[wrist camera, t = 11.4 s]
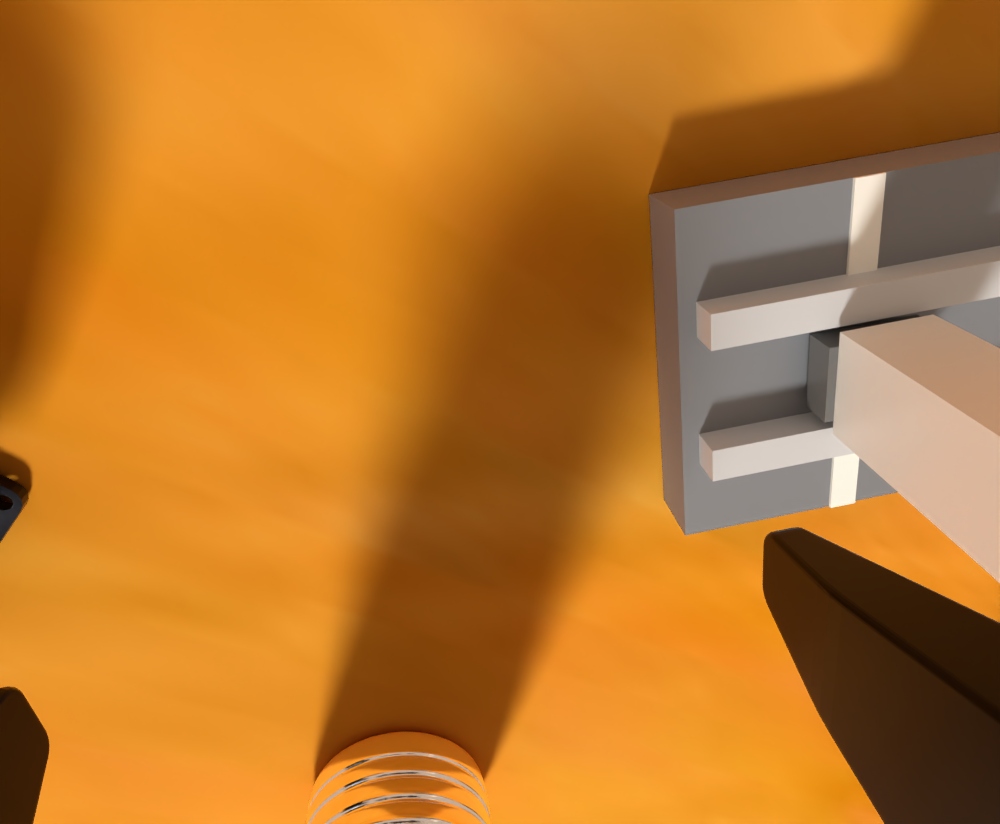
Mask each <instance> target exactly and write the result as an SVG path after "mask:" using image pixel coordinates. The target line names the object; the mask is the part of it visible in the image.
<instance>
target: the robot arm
mask: <svg viewBox="0 0 1000 824" xmlns="http://www.w3.org/2000/svg"><path fill="white" fill-rule="evenodd" d="M0 495H4V496H7V497H9V498H10V499H11V500H12V503H9V502H6V501H4V500H3V499H1V497H0V543H1V541H2V540H3V538H4V537H5V535H6V534H7V532H8V531H9V529H10V528H11V526H12V525H13V523H14V522H15V520H16V519H17V517H18V516H19V514H20V513H21V511H22V510H23V508H24V507H25V505H26V504H27V501H28V499H29V498H28V493H27V491H26V490H25V488H24V487H23V486H21V485H20V484H18V483H17V482H15V481H13V480H11V479H9V478H7V477H4V476H2V475H0ZM763 592H764V596H765V599H766V603H767V605H768V607H769V609H770V611H771V614H772V616H773V618H774V620H775V622H776V624H777V626H778V629H779V631H780V633H781V635H782V637H783V639H784V642H785V644H786V646H787V648H788V650H789V652H790V654H791V657H792V659H793V661H794V663H795V665H796V667H797V669H798V672H799V674H800V676H801V678H802V680H803V682H804V684H805V687H806V689H807V691H808V693H809V695H810V697H811V699H812V701H813V703H814V705H815V707H816V709H817V711H818V713H819V715H820V717H821V719H822V721H823V722H824V724H825V726H826V728H827V729H828V731H829V733H830V734H831V736H832V738H833V739H834V741H835V743H836V744H837V746H838V748H839V749H840V751H841V753H842V754H843V756H844V758H845V759H846V761H847V763H848V764H849V766H850V767H851V769H852V771H853V772H854V774H855V776H856V777H857V779H858V781H859V782H860V784H861V786H862V787H863V789H864V791H865V792H866V794H867V796H868V797H869V799H870V801H871V802H872V804H873V805H874V807H875V809H876V810H877V812H878V814H879V815H880V817H881V819H882V820H883V822H884V824H1000V623H999V622H997V621H995V620H993V619H990V618H988V617H986V616H984V615H982V614H980V613H978V612H976V611H974V610H972V609H970V608H968V607H965V606H963V605H961V604H959V603H957V602H955V601H953V600H951V599H949V598H947V597H945V596H943V595H940V594H938V593H936V592H934V591H932V590H930V589H928V588H926V587H924V586H922V585H920V584H918V583H915V582H913V581H911V580H909V579H907V578H905V577H903V576H901V575H899V574H897V573H895V572H893V571H890V570H888V569H886V568H884V567H882V566H880V565H878V564H876V563H874V562H872V561H870V560H868V559H865V558H863V557H861V556H859V555H857V554H855V553H853V552H851V551H849V550H847V549H845V548H843V547H840V546H838V545H836V544H834V543H832V542H830V541H828V540H826V539H824V538H822V537H820V536H818V535H815V534H813V533H811V532H809V531H807V530H805V529H802V528H798V527H796V528H789V529H784V530H779V531H774V532H771V533H769V534H768V535H767V536H766V537H765V540H764V552H763ZM48 755H49V739H48V736H47V733H46V730H45V729H44V727H43V725H42V724H41V722H40V721H39V719H38V717H37V716H36V714H35V712H34V711H33V709H32V708H31V706H30V704H29V703H28V701H27V699H26V698H25V696H24V695H23V693H22V692H21V691H20V690H18V689H17V688H15V687H3V688H0V824H33V821H34V817H35V813H36V808H37V804H38V799H39V795H40V790H41V786H42V782H43V777H44V773H45V768H46V764H47V760H48Z"/></svg>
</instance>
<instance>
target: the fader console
mask: <svg viewBox="0 0 1000 824" xmlns="http://www.w3.org/2000/svg"><path fill="white" fill-rule="evenodd" d="M649 204H650V224H651V245H652V265H653V285H654V306H655V326H656V347H657V367H658V388H659V408H660V428H661V449H662V469H663V490H664V500H665V502H666V504H667V505H668V507H669V509H670V510H671V512H672V514H673V515H674V517H675V519H676V521H677V522H678V524H679V526H680V527H681V529H682V531H683V532H684V534H685V535H689V534H694V533H699V532H704V531H709V530H714V529H719V528H724V527H729V526H734V525H739V524H744V523H748V522H753V521H758V520H763V519H768V518H773V517H778V516H783V515H788V514H793V513H798V512H803V511H808V510H813V509H817V508H822V507H827V506H829V507H830V508H833V507H838V506H843V505H848V504H853V503H855V501H857V500H862V499H867V498H872V497H877V496H882V495H886V494H891V493H896V492H897V491H896V490H895V489H894V488H893V487H892V486H890V485H889V484H888V483H887V482H886V481H885V480H884V479H883V478H882V477H880V476H879V475H878V474H877V473H876V472H875V471H874V470H873V469H871V468H870V467H869V466H868V465H867V464H866V463H865V462H864V461H862V460H861V459H860V458H859V457H858V456H857V455H856V454H855V453H854V452H852V451H851V450H850V449H849V448H848V447H847V446H846V445H845V444H843V443H842V442H841V441H840V440H839V439H838V438H837V437H836V436H834V435H833V421H831V422H826V423H824V422H823V421H822V420H821V419H820V418H819V417H818V416H816V415H815V414H814V413H813V412H812V411H811V410H810V409H809V408H807V407H806V402H807V384H808V365H809V347H810V334H815V333H821V332H826V331H831V330H837V329H842V328H847V327H852V326H858V325H863V324H868V323H873V322H879V321H884V320H889V319H895V318H900V317H905V316H910V315H916V314H917V315H918V316H920V317H922V316H928V315H935V316H937V317H939V318H941V319H943V320H945V321H947V322H949V323H951V324H953V325H955V326H957V327H959V328H961V329H963V330H965V331H967V332H969V333H971V334H973V335H975V336H977V337H978V338H980V339H982V340H984V341H986V342H988V343H990V344H992V345H994V346H996V347H998V348H1000V132H999V133H993V134H987V135H982V136H976V137H970V138H965V139H959V140H953V141H948V142H942V143H936V144H931V145H925V146H919V147H914V148H908V149H902V150H897V151H891V152H885V153H880V154H874V155H868V156H863V157H857V158H851V159H846V160H840V161H834V162H829V163H823V164H817V165H812V166H806V167H800V168H795V169H789V170H783V171H778V172H772V173H766V174H761V175H755V176H749V177H744V178H738V179H732V180H727V181H721V182H715V183H710V184H704V185H698V186H693V187H687V188H681V189H676V190H670V191H664V192H659V193H653V194H649Z"/></svg>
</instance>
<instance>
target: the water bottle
mask: <svg viewBox="0 0 1000 824" xmlns="http://www.w3.org/2000/svg"><path fill="white" fill-rule="evenodd" d="M305 824H492V823H491V811H490V806H489V802H488V797H487V791H486V787H485V783H484V780H483V777H482V774H481V772H480V770H479V767H478V766H477V764H476V762H475V761H474V760H473V758H472V757H471V756H470V755H469V754H468V753H467V752H466V751H465V750H464V749H463V748H461V747H460V746H458V745H457V744H455V743H453V742H451V741H449V740H447V739H445V738H442V737H439V736H436V735H432V734H428V733H421V732H392V733H385V734H380V735H376V736H373V737H369V738H366V739H364V740H361V741H359V742H357V743H355V744H353V745H351V746H349V747H347V748H346V749H344V750H342V751H341V752H340V753H338V754H337V755H336V756H335V757H334V758H332V759H331V760H330V761H329V762H328V763H327V765H326V766H325V767H324V768H323V770H322V771H321V772H320V774H319V776H318V777H317V779H316V781H315V784H314V786H313V789H312V792H311V796H310V799H309V804H308V809H307V817H306V821H305Z"/></svg>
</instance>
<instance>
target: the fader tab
mask: <svg viewBox="0 0 1000 824" xmlns="http://www.w3.org/2000/svg"><path fill="white" fill-rule="evenodd" d="M806 407H807V408H809V409H810V410H811V411H812V412H813V413H814V414H815V415H816V416H818V417H819V418H820V419H821V420H822V421H823V422H824V423H826V422H831V421H833V435H834V436H836V437H837V438H838V439H839V440H840V441H841V442H842V443H843V444H845V445H846V446H847V447H848V448H849V449H850V450H851V451H852V452H854V453H855V454H856V455H857V456H858V457H859V458H860V459H861V460H862V461H864V462H865V463H866V464H867V465H868V466H869V467H870V468H871V469H873V470H874V471H875V472H876V473H877V474H878V475H879V476H880V477H882V478H883V479H884V480H885V481H886V482H887V483H888V484H889V485H890V486H892V487H893V488H894V489H895V490H896V491H897V492H898V493H899V494H901V495H902V496H903V497H904V498H905V499H906V500H907V501H908V502H910V503H911V504H912V505H913V506H914V507H915V508H916V509H917V510H918V511H920V512H921V513H922V514H923V515H924V516H925V517H926V518H927V519H929V520H930V521H931V522H932V523H933V524H934V525H935V526H936V527H938V528H939V529H940V530H941V531H942V532H943V533H944V534H945V535H946V536H948V537H949V538H950V539H951V540H952V541H953V542H954V543H955V544H957V545H958V546H959V547H960V548H961V549H962V550H963V551H964V552H965V553H967V554H968V555H969V556H970V557H971V558H972V559H973V560H974V561H976V562H977V563H978V564H979V565H980V566H981V567H982V568H983V569H985V570H986V571H987V572H988V573H989V574H990V575H991V576H992V577H993V578H995V579H996V580H997V581H998V582H999V583H1000V348H998V347H996V346H994V345H992V344H990V343H988V342H986V341H984V340H982V339H980V338H978V337H977V336H975V335H973V334H971V333H969V332H967V331H965V330H963V329H961V328H959V327H957V326H955V325H953V324H951V323H949V322H947V321H945V320H943V319H941V318H939V317H937V316H935V315H928V316H922V317H920V316H918V315H917V314H916V315H910V316H905V317H900V318H895V319H889V320H884V321H879V322H873V323H868V324H863V325H858V326H852V327H847V328H842V329H837V330H831V331H826V332H821V333H815V334H810V347H809V365H808V384H807V402H806Z"/></svg>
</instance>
